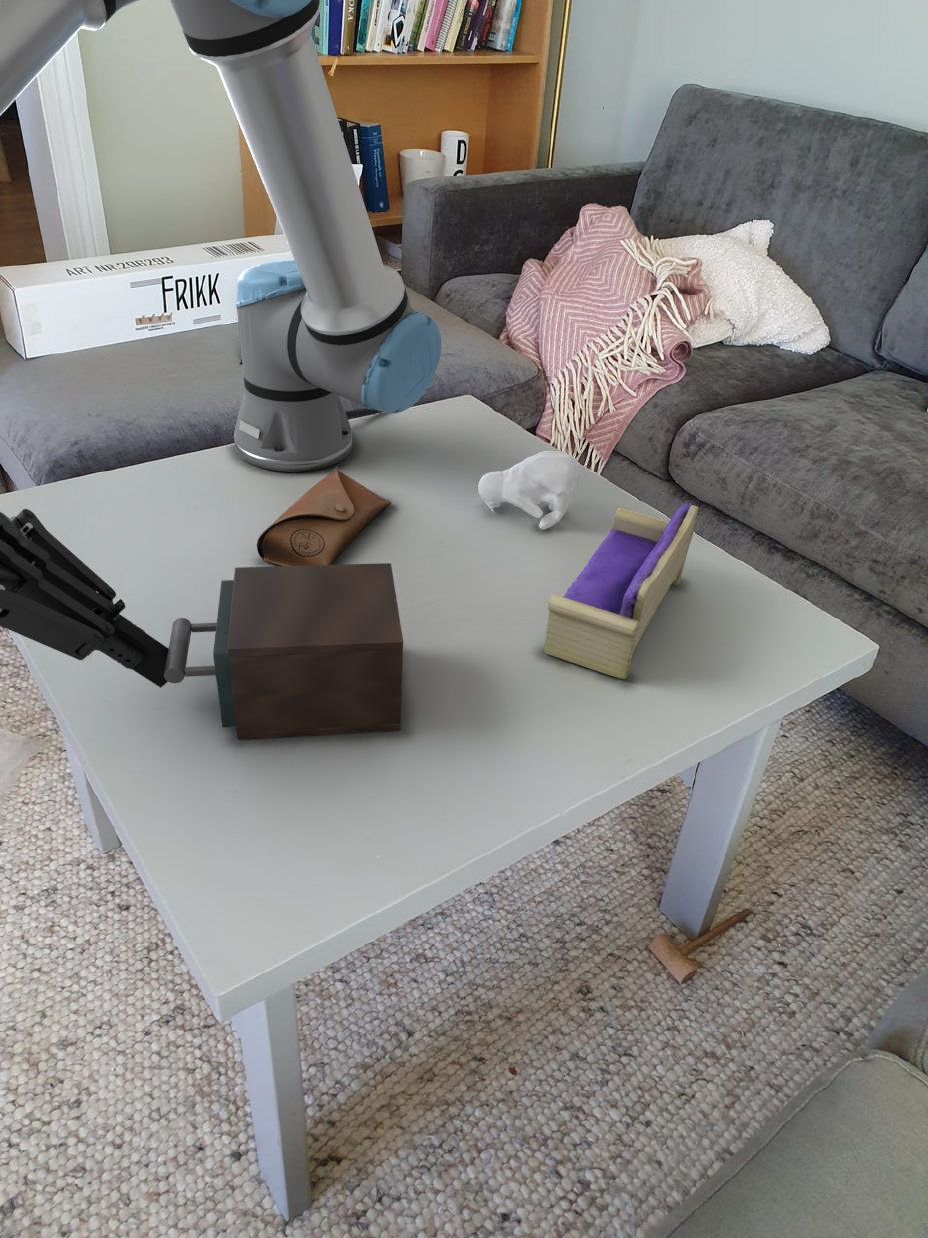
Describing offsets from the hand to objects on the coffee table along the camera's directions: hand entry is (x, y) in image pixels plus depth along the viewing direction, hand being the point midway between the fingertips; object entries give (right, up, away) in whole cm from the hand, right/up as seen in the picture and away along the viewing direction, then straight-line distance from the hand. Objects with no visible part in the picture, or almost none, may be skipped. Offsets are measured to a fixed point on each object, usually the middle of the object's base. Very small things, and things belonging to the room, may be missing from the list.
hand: (172, 673), depth 78 cm
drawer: (+8, -1, +2) cm, 9 cm away
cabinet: (+12, -2, +4) cm, 13 cm away
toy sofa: (+41, +5, +16) cm, 44 cm away
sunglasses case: (+10, +15, +26) cm, 31 cm away
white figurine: (+32, +17, +32) cm, 48 cm away
